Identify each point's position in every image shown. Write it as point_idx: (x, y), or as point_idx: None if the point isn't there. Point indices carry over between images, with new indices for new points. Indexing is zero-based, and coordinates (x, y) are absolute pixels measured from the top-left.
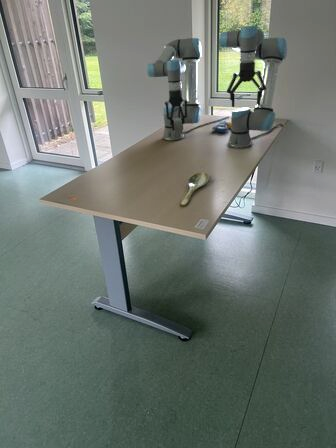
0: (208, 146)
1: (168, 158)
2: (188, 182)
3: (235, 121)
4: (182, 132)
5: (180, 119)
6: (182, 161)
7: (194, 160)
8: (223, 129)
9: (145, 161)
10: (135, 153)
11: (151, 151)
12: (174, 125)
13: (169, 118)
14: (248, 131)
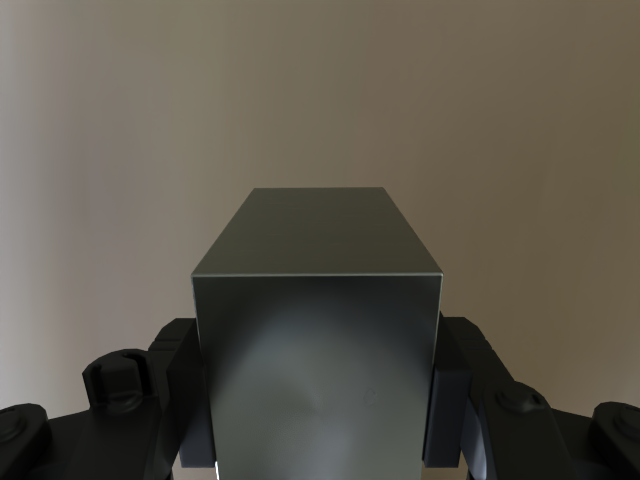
0: (86, 339)
1: (412, 172)
2: None
3: None
4: (252, 191)
5: (228, 373)
6: (306, 64)
7: (201, 58)
8: None
9: (604, 157)
10: (628, 346)
11: (508, 353)
12: (403, 230)
13: (565, 434)
14: None
